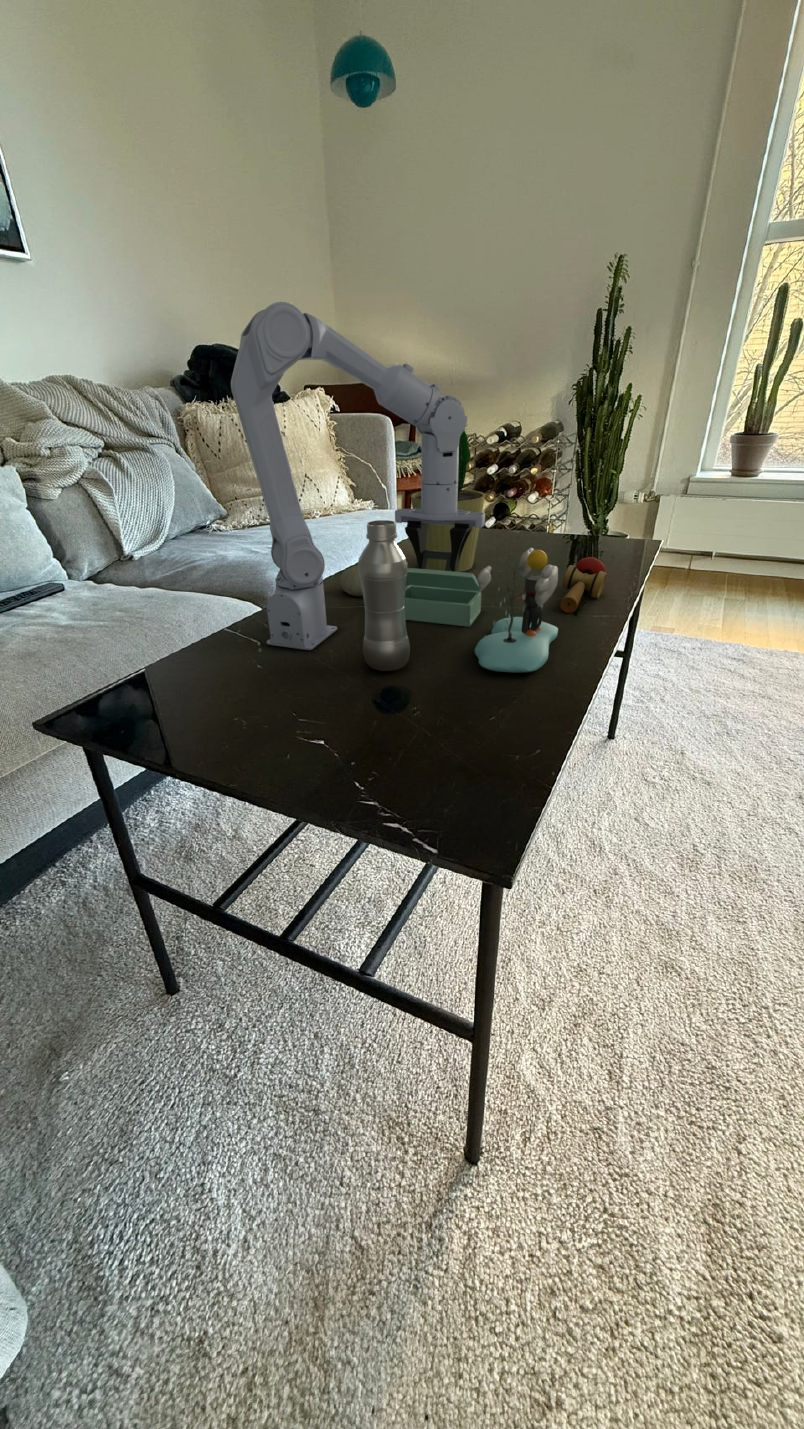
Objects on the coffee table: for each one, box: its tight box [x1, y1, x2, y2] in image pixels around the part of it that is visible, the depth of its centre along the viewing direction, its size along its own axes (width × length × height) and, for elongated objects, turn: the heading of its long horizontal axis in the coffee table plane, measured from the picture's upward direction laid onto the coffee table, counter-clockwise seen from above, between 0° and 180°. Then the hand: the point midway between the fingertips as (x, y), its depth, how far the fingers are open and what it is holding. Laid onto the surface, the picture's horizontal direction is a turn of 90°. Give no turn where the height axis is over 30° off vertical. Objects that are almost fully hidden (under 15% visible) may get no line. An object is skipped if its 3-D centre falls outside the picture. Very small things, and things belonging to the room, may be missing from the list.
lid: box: [406, 550, 482, 592], centre depth 100 cm, size 8×13×4 cm
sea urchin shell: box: [339, 564, 363, 597], centre depth 115 cm, size 9×8×8 cm
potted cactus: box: [410, 423, 486, 572], centre depth 123 cm, size 15×15×30 cm
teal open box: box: [404, 584, 482, 628], centre depth 102 cm, size 7×13×4 cm, turn 70°
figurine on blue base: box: [474, 547, 559, 674], centre depth 85 cm, size 20×11×15 cm, turn 156°
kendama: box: [559, 556, 608, 614], centre depth 108 cm, size 8×6×18 cm
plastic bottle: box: [357, 519, 411, 672], centre depth 80 cm, size 6×7×20 cm
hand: (438, 569), depth 99 cm, fingers closed on lid, 5 cm apart
